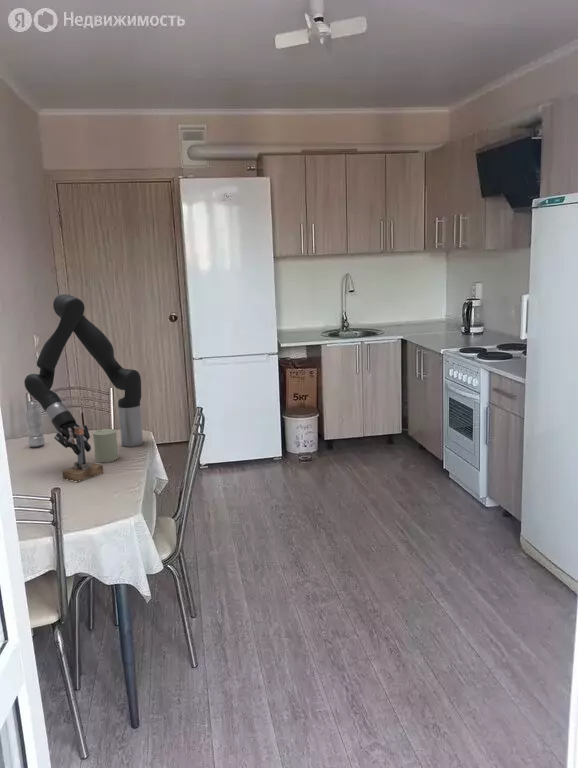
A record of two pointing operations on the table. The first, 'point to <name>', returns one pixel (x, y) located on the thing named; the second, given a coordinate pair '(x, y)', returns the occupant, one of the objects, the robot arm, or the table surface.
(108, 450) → the can
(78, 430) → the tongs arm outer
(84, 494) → the table surface
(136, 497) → the table surface
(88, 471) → the stand
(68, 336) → the robot arm
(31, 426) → the plastic bottle
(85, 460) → the bar
